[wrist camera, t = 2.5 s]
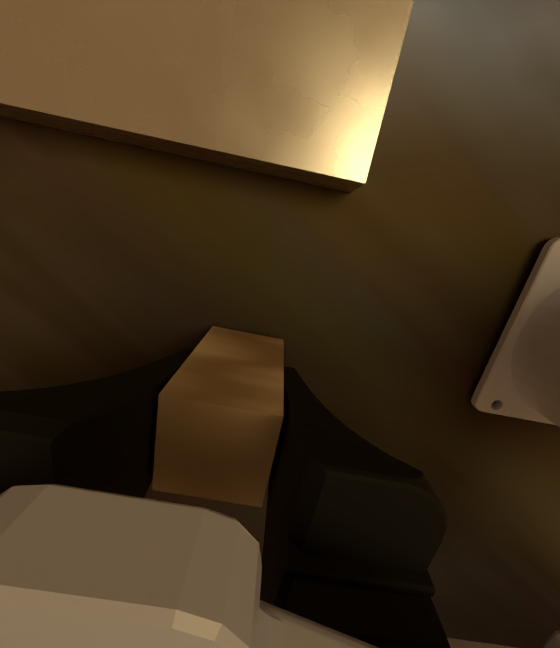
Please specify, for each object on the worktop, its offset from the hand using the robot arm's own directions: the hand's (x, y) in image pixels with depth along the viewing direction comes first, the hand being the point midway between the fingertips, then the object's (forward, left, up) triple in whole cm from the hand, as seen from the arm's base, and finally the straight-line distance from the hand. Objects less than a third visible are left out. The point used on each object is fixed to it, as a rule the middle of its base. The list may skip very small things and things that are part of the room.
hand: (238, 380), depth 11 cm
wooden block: (0, 0, -1) cm, 1 cm away
